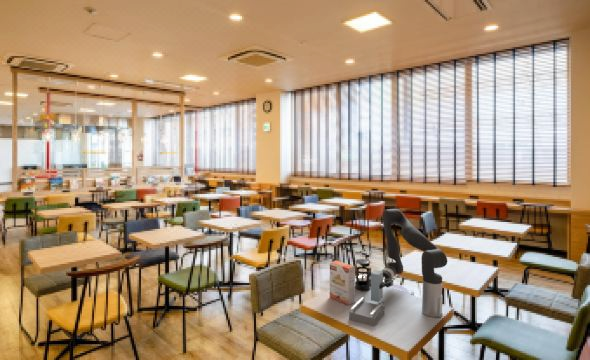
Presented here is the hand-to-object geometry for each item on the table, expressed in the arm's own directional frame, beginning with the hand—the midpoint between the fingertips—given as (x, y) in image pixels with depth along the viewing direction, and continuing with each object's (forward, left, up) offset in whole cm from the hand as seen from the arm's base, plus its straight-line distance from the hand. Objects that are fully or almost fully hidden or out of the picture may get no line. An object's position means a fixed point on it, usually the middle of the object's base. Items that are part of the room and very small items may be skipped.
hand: (375, 286), depth 186 cm
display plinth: (0, +12, -12) cm, 17 cm away
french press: (+15, -21, -12) cm, 29 cm away
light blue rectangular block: (0, -2, -8) cm, 8 cm away
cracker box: (+19, +1, -12) cm, 23 cm away
